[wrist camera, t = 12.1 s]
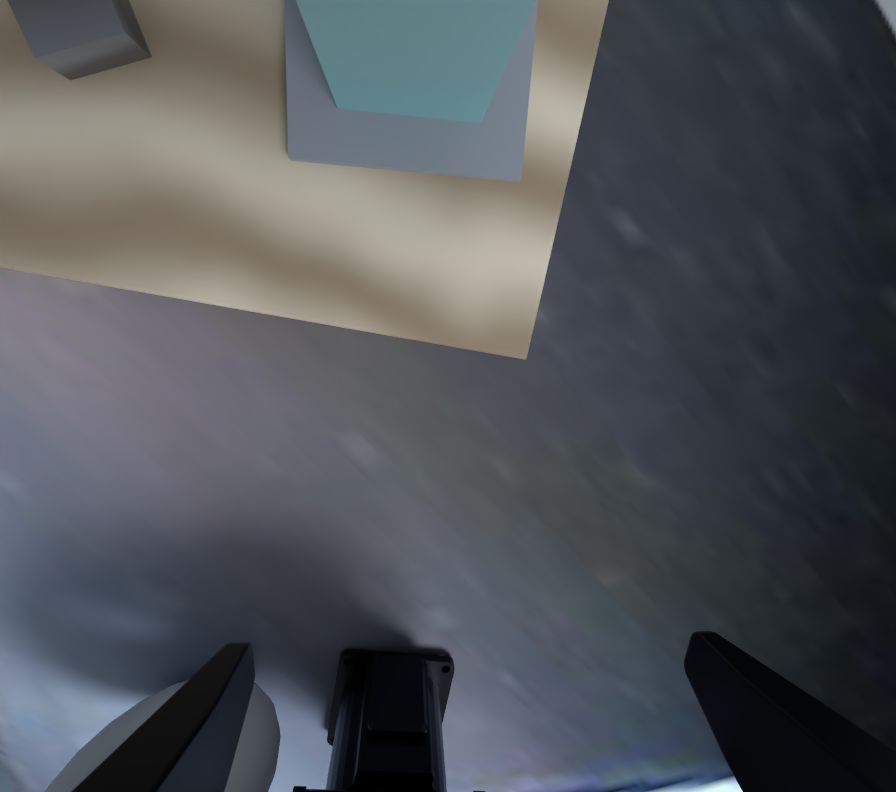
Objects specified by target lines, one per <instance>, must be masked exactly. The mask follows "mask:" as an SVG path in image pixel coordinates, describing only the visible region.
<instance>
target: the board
mask: <svg viewBox="0 0 896 792" xmlns="http://www.w3.org/2000/svg"><path fill="white" fill-rule="evenodd" d="M608 2H609V0H538V9H537V20H536V30H535V41H534V51H533V62H532V72H531V83H530V93H529V104H528V114H527V125H526V135H525V146H524V156H523V167H522V178H521V180H520V181H519V182H512V181H502V180H491V179H480V178H470V177H459V176H448V175H437V174H427V173H416V172H405V171H394V170H384V169H373V168H362V167H352V166H341V165H330V164H319V163H309V162H298V161H291V160H290V159H289V158H288V123H287V84H286V45H285V5H284V0H0V267H1V268H7V269H13V270H19V271H24V272H30V273H36V274H41V275H47V276H53V277H58V278H64V279H70V280H76V281H81V282H87V283H93V284H98V285H104V286H110V287H115V288H121V289H127V290H133V291H138V292H144V293H150V294H155V295H161V296H167V297H172V298H178V299H184V300H190V301H195V302H201V303H207V304H212V305H218V306H224V307H229V308H235V309H241V310H247V311H252V312H258V313H264V314H269V315H275V316H281V317H286V318H292V319H298V320H304V321H309V322H315V323H321V324H326V325H332V326H338V327H343V328H349V329H355V330H361V331H366V332H372V333H378V334H383V335H389V336H395V337H400V338H406V339H412V340H418V341H423V342H429V343H435V344H440V345H446V346H452V347H457V348H463V349H469V350H475V351H480V352H486V353H492V354H497V355H503V356H509V357H514V358H520V359H526V358H527V354H528V350H529V345H530V341H531V337H532V332H533V328H534V324H535V319H536V315H537V310H538V306H539V302H540V297H541V293H542V289H543V284H544V280H545V276H546V271H547V267H548V263H549V258H550V254H551V250H552V245H553V241H554V236H555V232H556V228H557V223H558V219H559V215H560V210H561V206H562V202H563V197H564V193H565V189H566V184H567V180H568V176H569V171H570V167H571V163H572V158H573V154H574V149H575V145H576V141H577V136H578V132H579V128H580V123H581V119H582V115H583V110H584V106H585V102H586V97H587V93H588V89H589V84H590V80H591V75H592V71H593V67H594V62H595V58H596V54H597V49H598V45H599V41H600V36H601V32H602V28H603V23H604V19H605V15H606V10H607V6H608Z"/></svg>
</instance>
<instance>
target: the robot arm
mask: <svg viewBox="0 0 896 792" xmlns="http://www.w3.org/2000/svg"><path fill="white" fill-rule="evenodd" d="M346 659H351V660H346ZM444 666H447V667H444ZM684 668H685V672H686V675H687V677H688V680H689V682H690V684H691V686H692V688H693V691H694V693H695V695H696V697H697V699H698V701H699V704H700V706H701V708H702V710H703V712H704V715H705V717H706V719H707V721H708V723H709V726H710V728H711V730H712V732H713V734H714V737H715V739H716V741H717V743H718V745H719V747H720V749H721V751H722V753H723V756H724V758H725V760H726V761H727V763H728V765H729V767H730V769H731V771H732V773H733V775H734V777H735V778H736V780H737V782H738V784H739V786H740V787H741V789H742V791H743V792H896V751H894V750H893V749H891V748H890V747H888V746H887V745H885V744H884V743H882V742H881V741H879V740H878V739H876V738H875V737H873V736H872V735H870V734H869V733H867V732H866V731H864V730H863V729H861V728H860V727H858V726H857V725H855V724H853V723H852V722H850V721H849V720H847V719H846V718H844V717H843V716H841V715H840V714H838V713H837V712H835V711H834V710H832V709H831V708H829V707H828V706H826V705H825V704H823V703H822V702H820V701H819V700H817V699H816V698H814V697H812V696H811V695H809V694H808V693H806V692H805V691H803V690H802V689H800V688H799V687H797V686H796V685H794V684H793V683H791V682H790V681H788V680H787V679H785V678H784V677H782V676H781V675H779V674H778V673H776V672H774V671H773V670H771V669H770V668H768V667H767V666H765V665H764V664H762V663H761V662H759V661H758V660H756V659H755V658H753V657H752V656H750V655H749V654H747V653H746V652H744V651H743V650H741V649H740V648H738V647H737V646H735V645H733V644H732V643H730V642H729V641H727V640H726V639H724V638H723V637H721V636H720V635H718V634H717V633H715V632H711V631H699V632H694V633H693V634H692V635H691V637H690V641H689V645H688V648H687V652H686V655H685V659H684ZM453 674H454V661H453V659H452V658H450V657H447V656H436V655H423V654H409V653H396V652H383V651H370V650H356V649H346V650H344V651H343V652H342V653H341V655H340V659H339V665H338V672H337V678H336V685H335V691H334V698H333V704H332V711H331V717H330V724H329V730H328V737H327V742H328V743H329V744H330V745H331V746H333V748H332V754H331V760H330V766H329V772H328V778H327V785H326V790H318V789H306V786H294V789H293V792H447V789H446V776H445V763H444V750H443V737H442V722H443V717H444V713H445V709H446V704H447V700H448V696H449V691H450V687H451V682H452V678H453ZM254 680H255V671H254V660H253V649H252V645H251V643H250V642H230V643H228V644H226V645H225V646H224V647H223V648H222V649H221V650H220V651H218V652H217V653H216V654H215V655H214V656H213V657H212V658H211V659H210V660H209V661H208V662H207V663H206V664H205V665H204V666H203V667H202V668H201V669H200V670H198V671H197V672H196V673H195V674H194V675H193V676H192V677H191V678H190V679H189V680H188V681H187V682H186V683H185V684H184V685H183V686H182V687H181V688H180V689H178V690H177V691H176V692H175V693H174V694H173V695H172V696H171V697H170V698H169V699H168V700H167V701H166V702H165V703H164V704H163V705H162V706H161V707H160V708H158V709H157V710H156V711H155V712H154V713H153V714H152V715H151V716H150V717H149V718H148V719H147V720H146V721H145V722H144V723H143V724H142V725H141V726H140V727H138V728H137V729H136V730H135V731H134V732H133V733H132V734H131V735H130V736H129V737H128V738H127V739H126V740H125V741H124V742H123V743H122V744H121V745H120V746H119V747H117V748H116V749H115V750H114V751H113V752H112V753H111V754H110V755H109V756H108V757H107V758H106V759H105V760H104V761H103V762H102V763H101V764H100V765H99V766H97V767H96V768H95V769H94V770H93V771H92V772H91V773H90V774H89V775H88V776H87V777H86V778H85V779H84V780H83V781H82V782H81V783H80V784H79V785H77V786H76V787H75V788H74V789H73V790H72V791H71V792H224V791H225V788H226V785H227V781H228V778H229V774H230V771H231V767H232V764H233V760H234V756H235V753H236V749H237V745H238V742H239V738H240V734H241V731H242V727H243V723H244V720H245V716H246V712H247V709H248V705H249V701H250V698H251V694H252V690H253V686H254ZM473 792H485V791H473Z"/></svg>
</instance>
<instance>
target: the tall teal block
mask: <svg viewBox="0 0 896 792" xmlns="http://www.w3.org/2000/svg"><path fill="white" fill-rule="evenodd" d="M534 1H535V0H296V2H297V5H298V7H299V10H300V13H301V15H302V18H303V20H304V23H305V26H306V28H307V31H308V33H309V36H310V38H311V41H312V44H313V46H314V49H315V51H316V54H317V57H318V59H319V62H320V64H321V67H322V69H323V72H324V75H325V77H326V80H327V82H328V85H329V87H330V90H331V93H332V95H333V98H334V100H335V103H336V106H337V108H338V109H347V110H357V111H367V112H377V113H387V114H397V115H407V116H417V117H427V118H437V119H447V120H457V121H467V122H477V123H481V122H482V120H483V117H484V115H485V113H486V111H487V108H488V106H489V104H490V102H491V99H492V97H493V95H494V92H495V90H496V88H497V86H498V83H499V81H500V79H501V77H502V74H503V72H504V70H505V67H506V65H507V63H508V61H509V58H510V56H511V54H512V51H513V49H514V47H515V45H516V42H517V40H518V38H519V36H520V33H521V31H522V29H523V26H524V24H525V22H526V20H527V17H528V15H529V13H530V10H531V8H532V6H533V4H534Z"/></svg>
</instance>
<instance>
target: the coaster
mask: <svg viewBox="0 0 896 792" xmlns="http://www.w3.org/2000/svg"><path fill="white" fill-rule="evenodd" d="M284 5H285V45H286V84H287V123H288V158H289V159H290V160H291V161H298V162H309V163H319V164H330V165H341V166H352V167H362V168H373V169H384V170H394V171H405V172H416V173H427V174H437V175H448V176H459V177H470V178H480V179H491V180H502V181H512V182H519V181H520V180H521V178H522V167H523V156H524V146H525V135H526V125H527V114H528V104H529V93H530V83H531V72H532V62H533V51H534V41H535V30H536V20H537V9H538V0H535V1H534V4H533V6H532V8H531V10H530V13H529V15H528V17H527V20H526V22H525V24H524V26H523V29H522V31H521V33H520V36H519V38H518V40H517V42H516V45H515V47H514V49H513V51H512V54H511V56H510V58H509V61H508V63H507V65H506V67H505V70H504V72H503V74H502V77H501V79H500V81H499V83H498V86H497V88H496V90H495V92H494V95H493V97H492V99H491V102H490V104H489V106H488V108H487V111H486V113H485V115H484V117H483V120H482V122H481V123H477V122H467V121H457V120H447V119H437V118H427V117H417V116H407V115H397V114H387V113H377V112H367V111H357V110H347V109H338V108H337V106H336V103H335V100H334V98H333V95H332V93H331V90H330V87H329V85H328V82H327V80H326V77H325V75H324V72H323V69H322V67H321V64H320V62H319V59H318V57H317V54H316V51H315V49H314V46H313V44H312V41H311V38H310V36H309V33H308V31H307V28H306V26H305V23H304V20H303V18H302V15H301V13H300V10H299V7H298V5H297V2H296V0H284Z"/></svg>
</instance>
